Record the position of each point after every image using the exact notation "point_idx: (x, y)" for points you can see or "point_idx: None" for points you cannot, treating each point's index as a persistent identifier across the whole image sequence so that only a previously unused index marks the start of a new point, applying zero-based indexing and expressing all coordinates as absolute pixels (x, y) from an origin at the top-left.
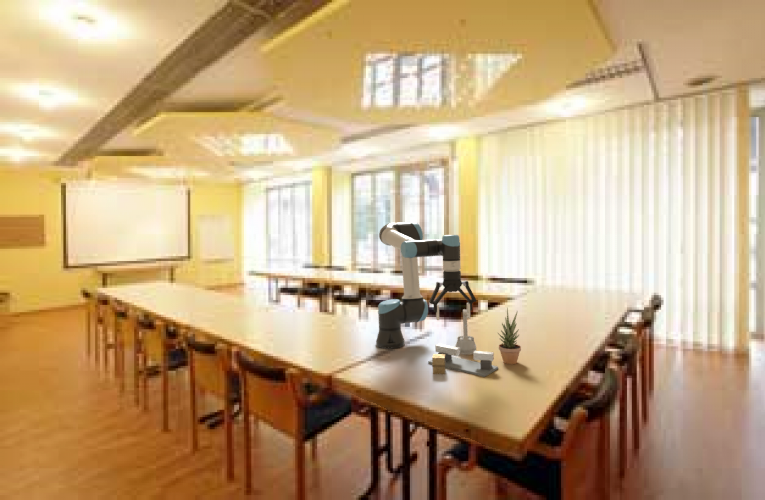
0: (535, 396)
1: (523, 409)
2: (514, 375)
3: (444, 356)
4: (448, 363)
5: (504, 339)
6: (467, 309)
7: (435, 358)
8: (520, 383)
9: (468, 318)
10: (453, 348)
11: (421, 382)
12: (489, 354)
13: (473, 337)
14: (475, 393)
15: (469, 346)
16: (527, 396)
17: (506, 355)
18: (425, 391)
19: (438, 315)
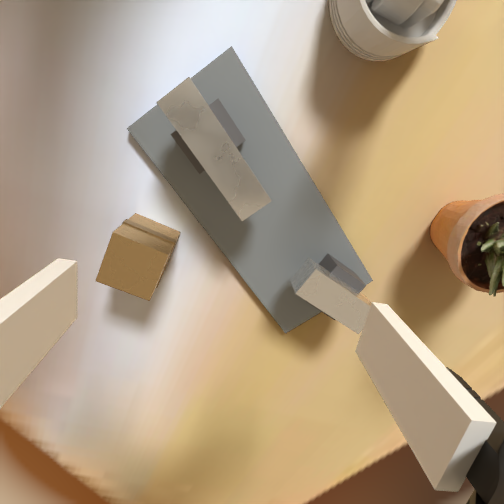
0: (331, 457)
1: (265, 496)
2: None
3: (156, 282)
4: (209, 188)
5: (493, 291)
6: (405, 382)
7: (111, 284)
8: (351, 392)
9: (357, 347)
10: (235, 202)
11: None
12: (347, 326)
13: None
14: (202, 417)
15: (391, 52)
16: (314, 454)
17: (447, 259)
18: (65, 377)
19: (44, 345)
